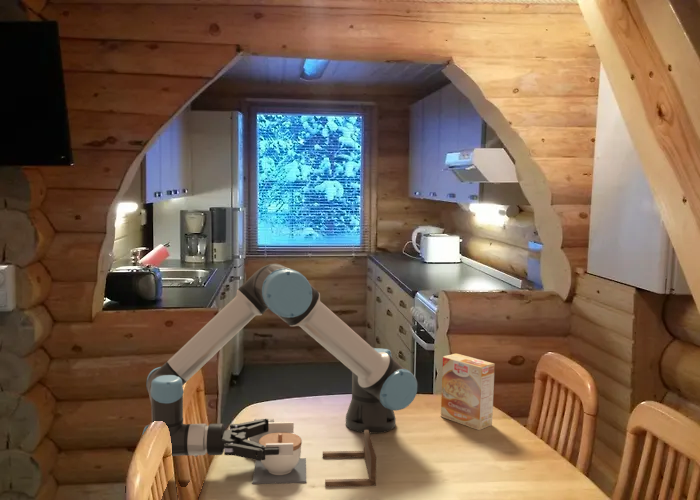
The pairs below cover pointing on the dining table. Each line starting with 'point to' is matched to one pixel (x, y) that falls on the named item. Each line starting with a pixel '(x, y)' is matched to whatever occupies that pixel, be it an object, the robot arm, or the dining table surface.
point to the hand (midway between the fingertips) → (293, 437)
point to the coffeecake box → (467, 391)
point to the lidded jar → (281, 462)
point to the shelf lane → (367, 454)
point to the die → (257, 437)
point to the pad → (294, 476)
